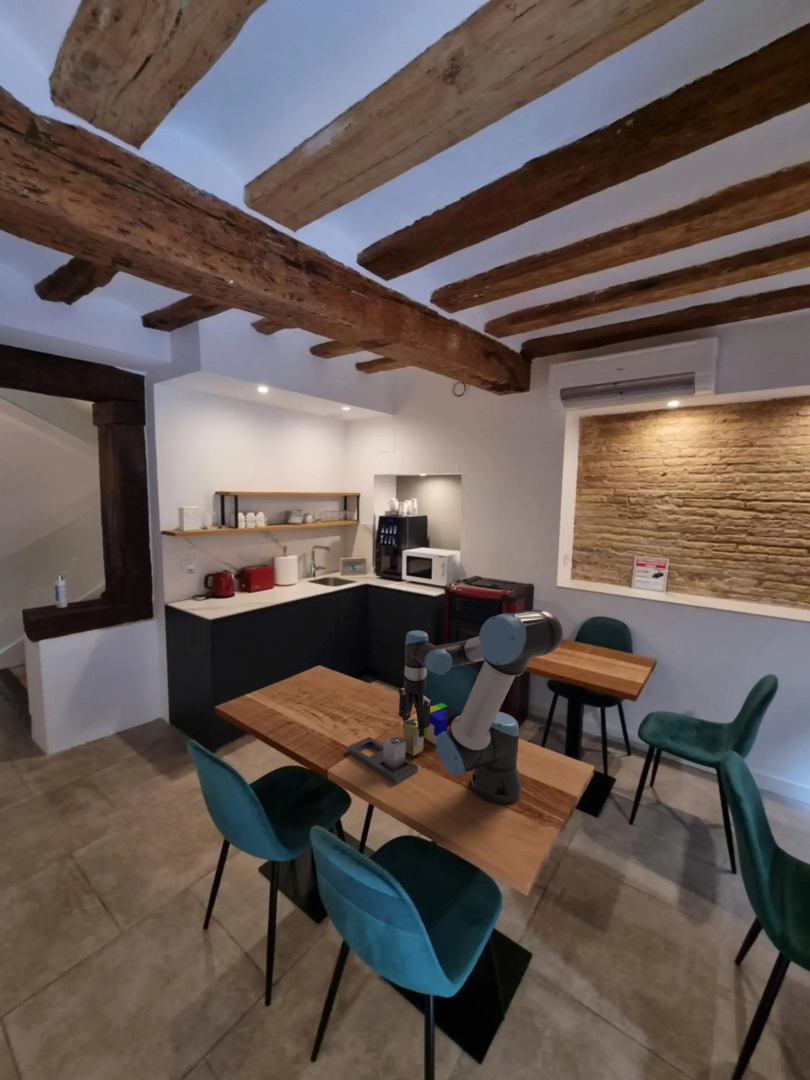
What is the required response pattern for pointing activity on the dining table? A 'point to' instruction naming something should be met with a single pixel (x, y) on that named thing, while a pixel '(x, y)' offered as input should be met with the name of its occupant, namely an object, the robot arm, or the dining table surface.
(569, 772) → the dining table surface
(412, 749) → the tan block with knob
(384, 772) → the grey flat plate
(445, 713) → the puzzle toy
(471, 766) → the robot arm
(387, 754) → the silver block with knob
